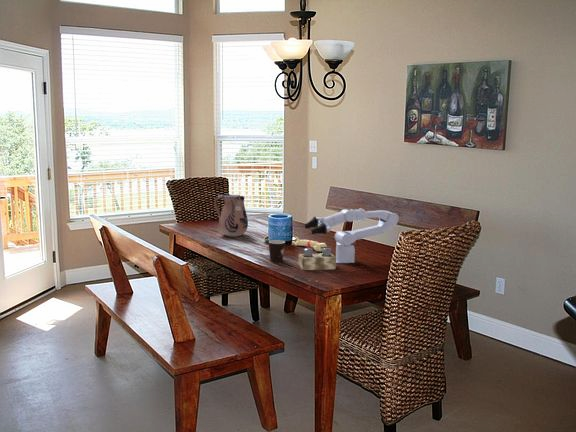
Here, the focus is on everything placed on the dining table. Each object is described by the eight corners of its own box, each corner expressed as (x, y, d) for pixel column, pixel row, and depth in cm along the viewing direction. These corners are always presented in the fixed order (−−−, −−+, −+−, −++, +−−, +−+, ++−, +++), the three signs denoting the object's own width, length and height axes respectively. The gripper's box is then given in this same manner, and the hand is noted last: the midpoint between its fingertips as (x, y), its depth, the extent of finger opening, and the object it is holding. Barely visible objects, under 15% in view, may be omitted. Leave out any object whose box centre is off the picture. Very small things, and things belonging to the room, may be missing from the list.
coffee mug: (274, 263, 301) (274, 244, 300) (264, 259, 308) (265, 241, 307) (292, 260, 308) (293, 242, 307) (283, 257, 315) (283, 238, 313)
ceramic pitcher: (246, 238, 357) (247, 198, 353) (211, 237, 358) (211, 197, 353) (248, 233, 375) (249, 194, 370) (215, 232, 375) (216, 193, 371)
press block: (330, 264, 302) (331, 253, 301) (335, 269, 294) (336, 257, 293) (298, 265, 299) (298, 253, 298) (302, 270, 290) (302, 258, 289)
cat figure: (289, 248, 342) (320, 253, 324) (288, 233, 341) (320, 237, 323) (301, 246, 349) (332, 250, 331) (300, 231, 348) (332, 235, 330)
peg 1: (311, 258, 297) (311, 248, 296) (313, 260, 293) (313, 250, 292) (302, 259, 296) (303, 248, 295) (304, 261, 292) (305, 250, 291)
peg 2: (329, 258, 299) (329, 247, 298) (331, 260, 295) (332, 249, 294) (321, 258, 298) (321, 247, 297) (323, 260, 294) (323, 249, 293)
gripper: (324, 209, 307) (301, 217, 303) (337, 219, 295) (313, 227, 291) (326, 221, 310) (303, 229, 307) (339, 231, 298) (315, 240, 294)
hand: (308, 229), depth 299 cm, fingers open, 7 cm apart
